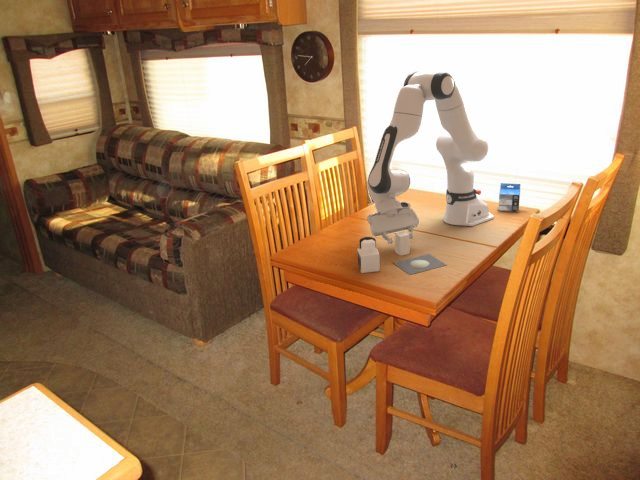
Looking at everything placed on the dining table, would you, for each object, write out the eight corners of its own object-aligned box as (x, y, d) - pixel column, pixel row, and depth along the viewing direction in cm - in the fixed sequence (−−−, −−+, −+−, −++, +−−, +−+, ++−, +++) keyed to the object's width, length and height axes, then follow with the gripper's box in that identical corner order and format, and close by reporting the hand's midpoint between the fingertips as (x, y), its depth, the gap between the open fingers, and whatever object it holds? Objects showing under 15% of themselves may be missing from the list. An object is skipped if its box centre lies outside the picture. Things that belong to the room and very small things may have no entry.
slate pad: (429, 254, 205) (429, 253, 205) (447, 265, 195) (447, 264, 195) (393, 263, 200) (393, 262, 200) (409, 274, 190) (409, 274, 190)
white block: (404, 250, 211) (404, 231, 208) (409, 253, 207) (409, 234, 204) (395, 252, 209) (395, 233, 206) (400, 255, 206) (400, 236, 203)
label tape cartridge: (498, 211, 244) (499, 185, 240) (498, 208, 248) (500, 183, 243) (518, 212, 241) (520, 186, 236) (518, 209, 244) (520, 183, 240)
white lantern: (357, 265, 200) (356, 236, 196) (376, 263, 201) (375, 234, 196) (360, 273, 194) (359, 243, 189) (380, 271, 194) (379, 241, 190)
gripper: (367, 211, 206) (380, 242, 201) (413, 202, 212) (426, 232, 207) (363, 218, 211) (375, 249, 206) (407, 209, 218) (420, 239, 213)
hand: (401, 240), depth 207 cm, fingers open, 8 cm apart
